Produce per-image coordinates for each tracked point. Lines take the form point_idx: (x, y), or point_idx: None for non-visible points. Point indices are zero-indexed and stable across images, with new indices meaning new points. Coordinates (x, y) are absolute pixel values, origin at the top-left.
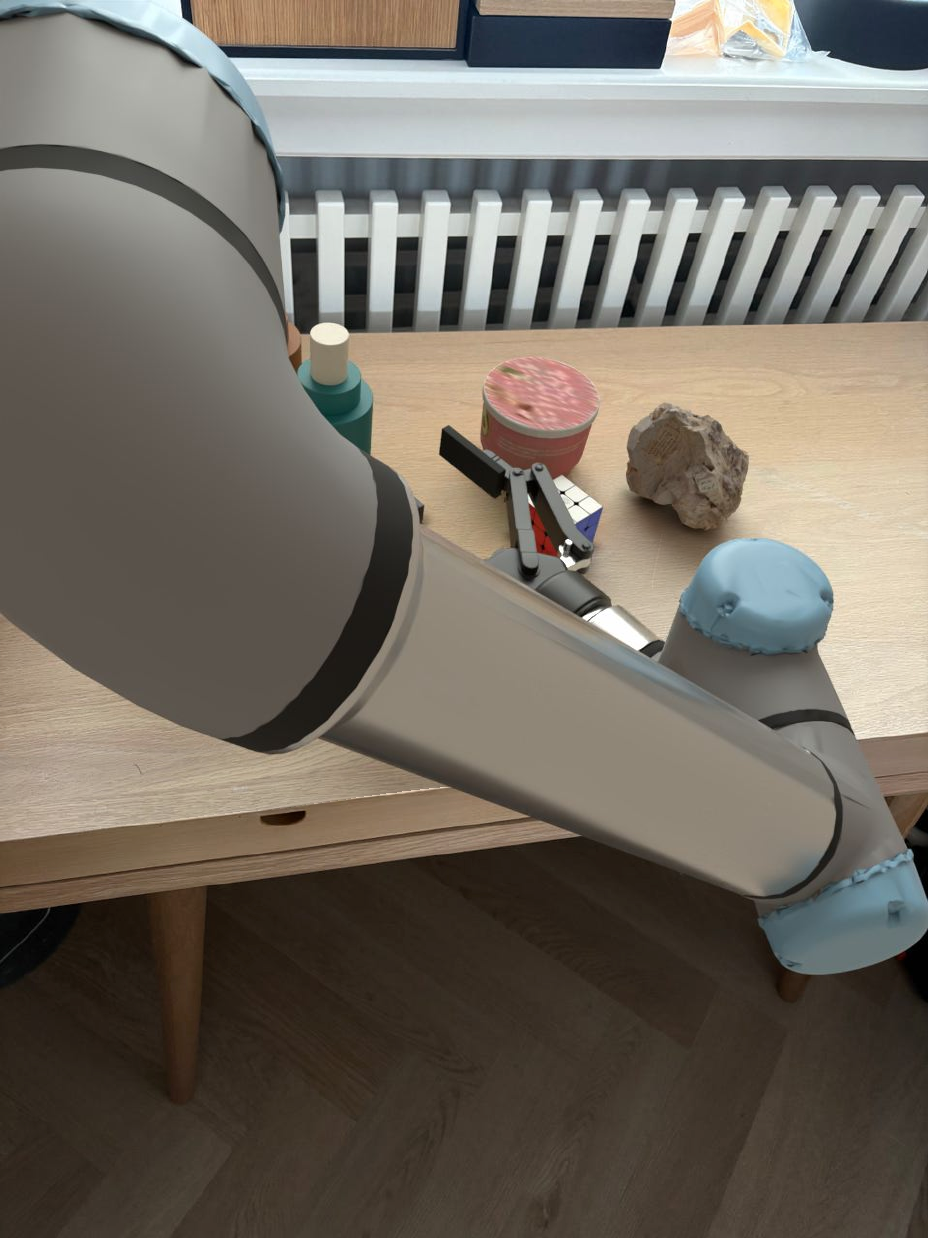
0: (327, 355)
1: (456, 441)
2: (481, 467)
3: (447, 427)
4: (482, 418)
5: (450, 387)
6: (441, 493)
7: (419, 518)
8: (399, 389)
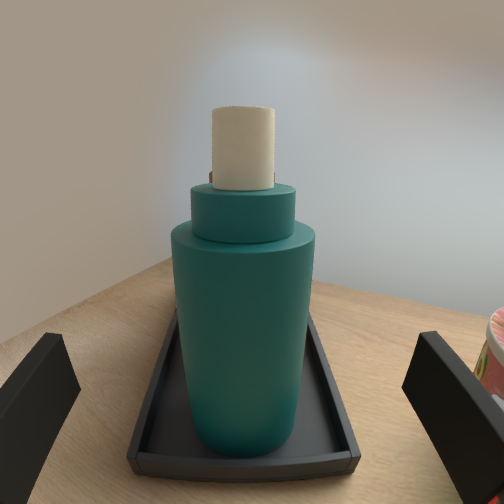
0: (219, 127)
1: (440, 363)
2: (476, 436)
3: (431, 333)
4: (477, 364)
5: (450, 341)
6: (398, 443)
7: (348, 469)
8: (405, 332)
